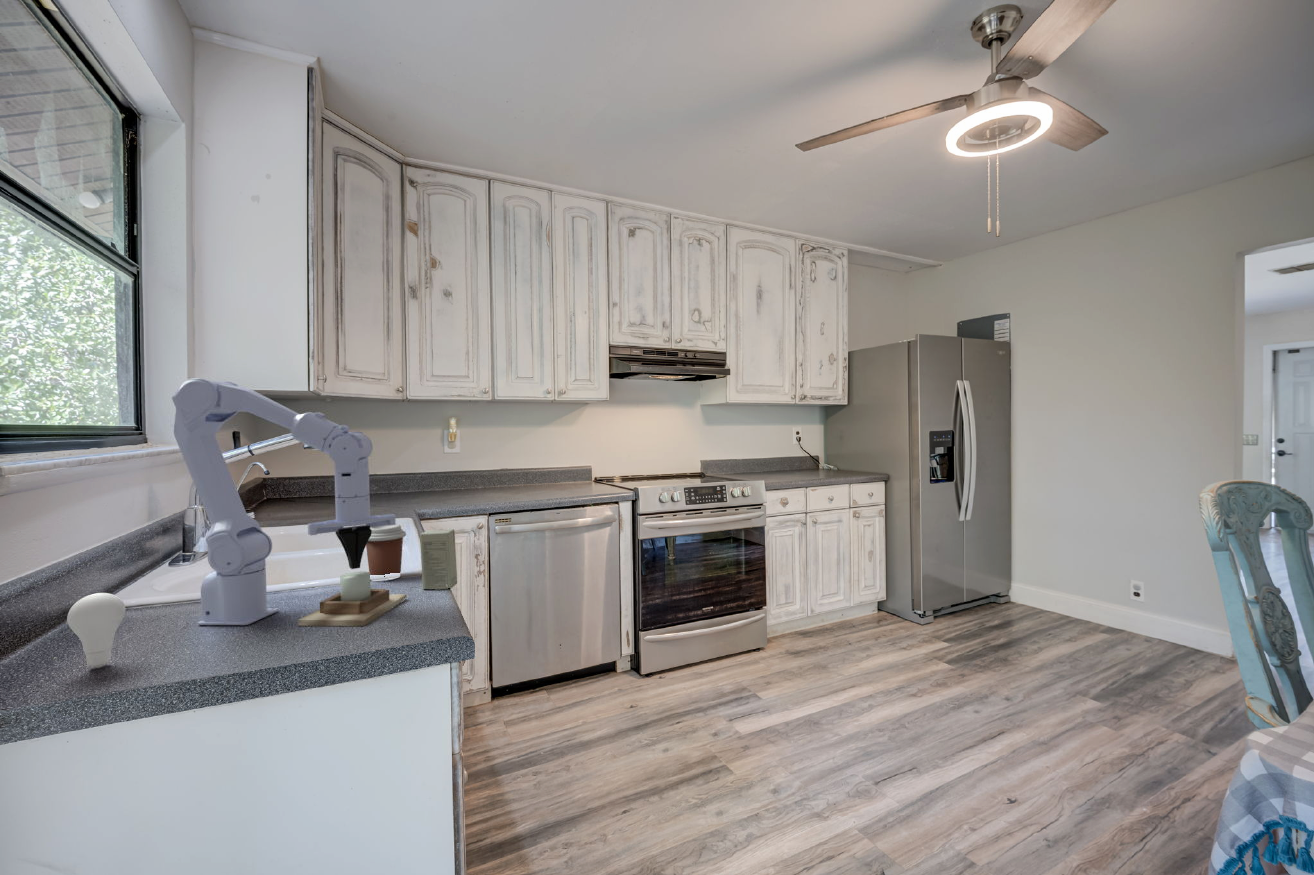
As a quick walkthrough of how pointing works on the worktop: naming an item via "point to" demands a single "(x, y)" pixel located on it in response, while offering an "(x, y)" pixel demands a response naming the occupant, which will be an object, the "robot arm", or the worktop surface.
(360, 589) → the sage cap
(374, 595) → the socket board
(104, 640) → the lightbulb
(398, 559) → the coffee cup
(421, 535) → the skincare box
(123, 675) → the worktop surface
